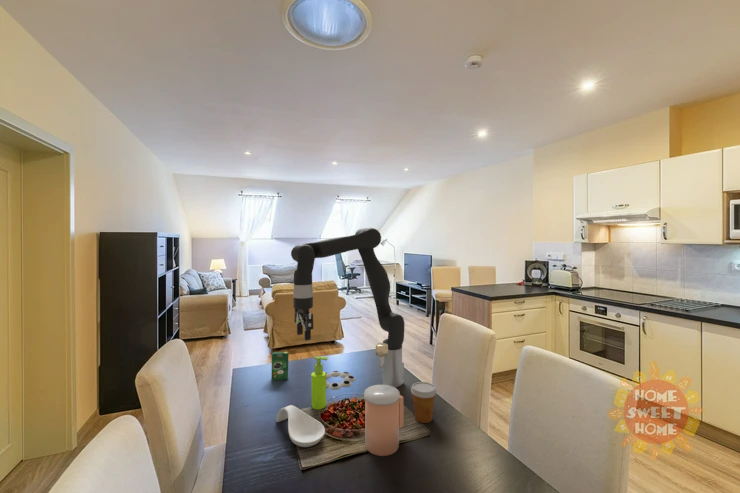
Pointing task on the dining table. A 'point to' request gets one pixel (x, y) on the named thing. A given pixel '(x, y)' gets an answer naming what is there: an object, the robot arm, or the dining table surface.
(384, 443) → the press pot
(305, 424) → the spoon rest
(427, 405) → the disposable coffee cup
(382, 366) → the plunger
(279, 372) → the coffee box
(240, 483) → the dining table surface
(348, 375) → the paint palette
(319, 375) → the soap dispenser
